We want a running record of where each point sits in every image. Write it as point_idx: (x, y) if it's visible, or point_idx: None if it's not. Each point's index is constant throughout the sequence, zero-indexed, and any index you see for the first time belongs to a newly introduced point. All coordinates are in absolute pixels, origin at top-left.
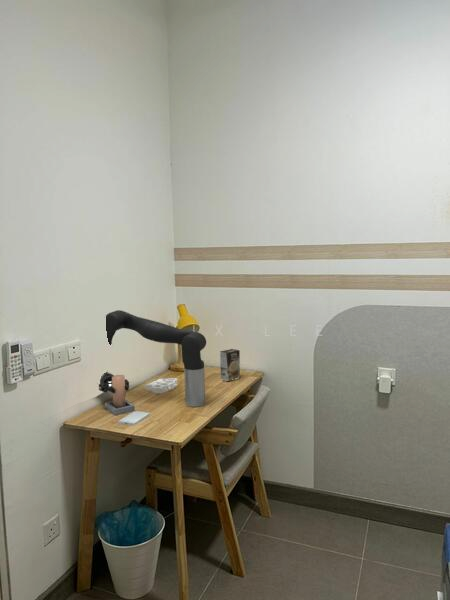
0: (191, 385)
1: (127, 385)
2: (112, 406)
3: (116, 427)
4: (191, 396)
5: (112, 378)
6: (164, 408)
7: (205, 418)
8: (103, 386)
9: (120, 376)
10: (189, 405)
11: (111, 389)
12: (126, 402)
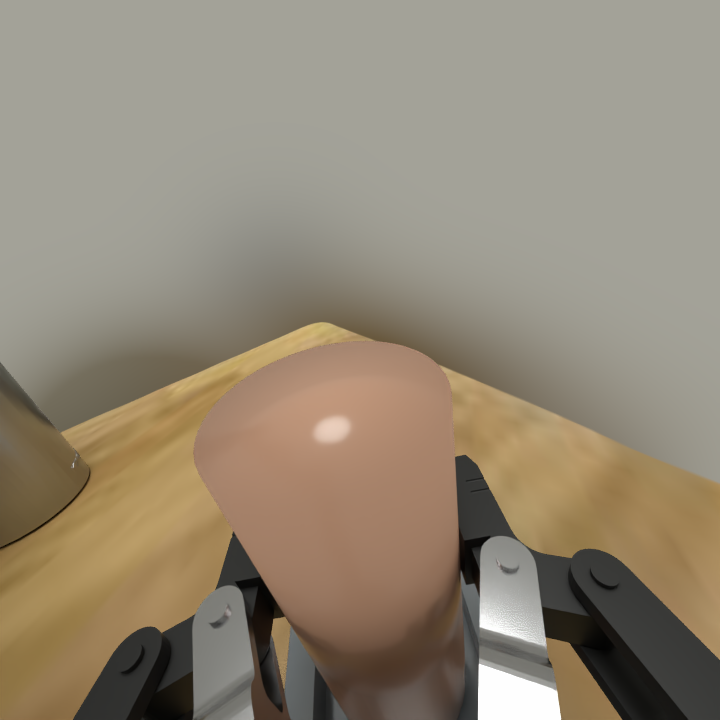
0: (18, 385)
1: (233, 537)
2: (473, 599)
3: (453, 393)
4: (58, 432)
5: (440, 376)
6: (167, 508)
7: (182, 381)
8: (671, 629)
9: (283, 396)
10: (85, 475)
11: (471, 464)
12: (315, 668)
